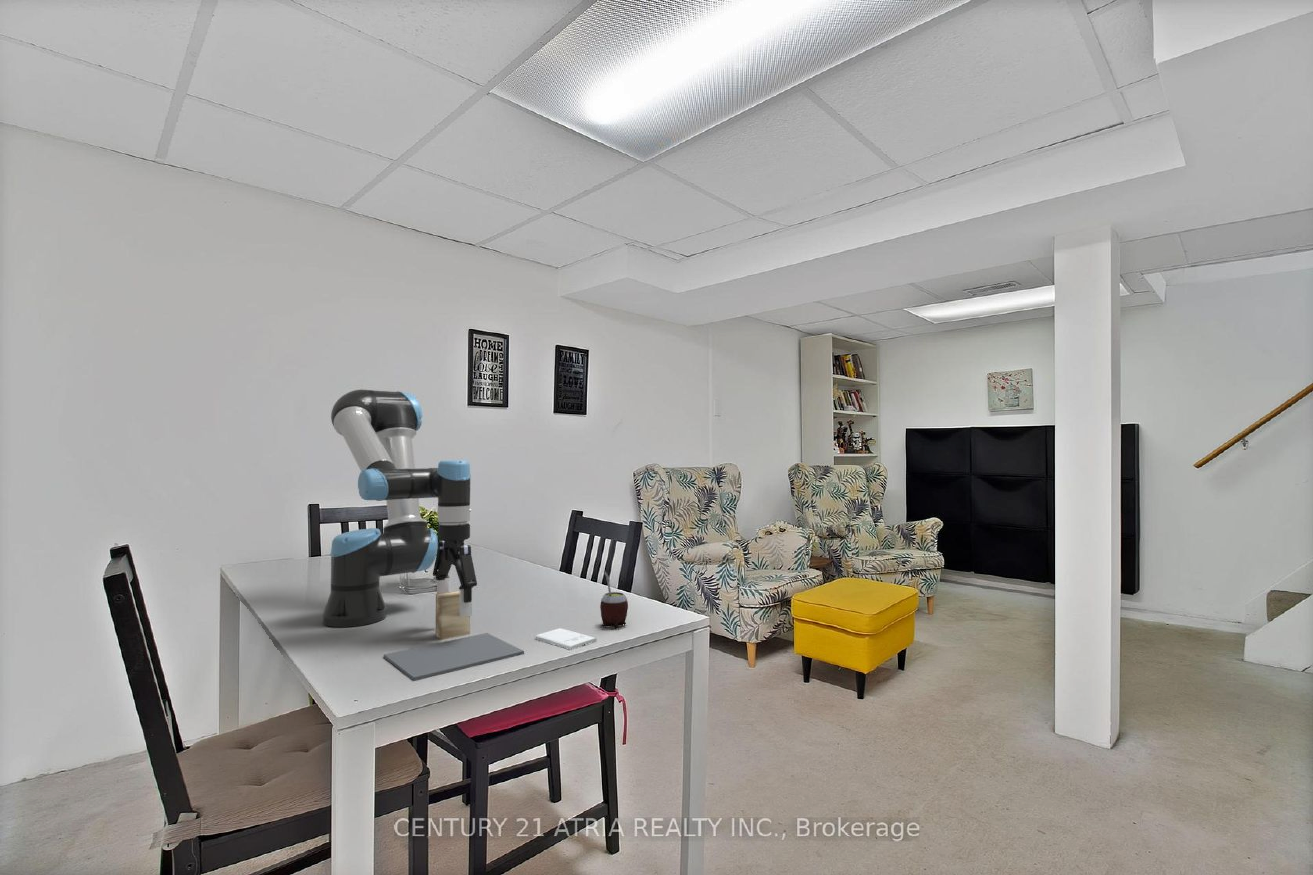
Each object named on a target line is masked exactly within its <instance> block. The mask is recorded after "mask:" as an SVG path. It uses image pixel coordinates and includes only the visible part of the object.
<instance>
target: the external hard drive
mask: <svg viewBox="0 0 1313 875" xmlns="http://www.w3.org/2000/svg"><path fill="white" fill-rule="evenodd" d="M536 639H537V641H539V640H540V642H543V641H544V642H543V643H546V642H547V643H546V644H549V643H550V645H552V644H555V645H554V646H556V645H558V646H557V647H559V646H561V647H560V648H562V647H564V648H563V649H565V648H568V649H567V650H569V649H573V650H575V649H574V648H576V649H578V647H579V648H581V647H580V646H582V645H584V644H588V645H590V644H589V643H591V642H594V641H597V638H596V637H593V636H590V635H586V634H582V633H579V632H575V631H572V630H569V629H566V628H565V629H564V628H563V627H559V628H556V629H552V630H549V631H545V632H542V633H538V634H535V640H536ZM594 643H595V642H594ZM591 644H592V643H591ZM584 646H585V645H584ZM582 647H583V646H582Z"/></svg>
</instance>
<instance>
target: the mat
mask: <svg viewBox="0 0 1313 875" xmlns="http://www.w3.org/2000/svg"><path fill="white" fill-rule="evenodd" d="M524 654H525V650H524V649H521V648H519V647H517V646H515V645H512V644H511V643H509V642H506V641H505V640H502V639H501V638H499V637H496V636H494V635H493V634H490V633H488V632H485V633H480V634H475V635H469V636H466V637H460V638H454V639H451V640H447V641H440V642H436V643H432V644H428V645H422V646H418V647H417V646H416V647H414V648H408V649H404V650H398V651H393V652H389V653H384V654H383V658H384V659H385V660H387V662H389V663H390V664H391V665H393V666H395V668H397V669H398V670H399V671H401V672H402V673H404V675H406V676H407V677H409V678H410V679H411V680H413V681H418V680H423V679H427V678H430V677H436V676H439V675H443V674H447V673H451V672H455V671H460V670H463V669H467V668H471V667H476V666H479V665H483V664H488V663H491V662H492V663H493V662H496V661H499V660H504V659H508V658H512V657H516V656H520V655H524Z"/></svg>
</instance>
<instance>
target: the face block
mask: <svg viewBox="0 0 1313 875" xmlns="http://www.w3.org/2000/svg"><path fill="white" fill-rule="evenodd" d="M434 629H435V630H434V631H435V634H434V636H435V637H437V638H438V637H439V639H440V640H445V639H446V640H448V639H451V638H455V637H456V638H457V637H460V636H466V635H470V634H471V615H470V616H465V617H460V590H455V591H450V592H447V593H441V594H437V593H436V594H435V628H434Z"/></svg>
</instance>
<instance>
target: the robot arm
mask: <svg viewBox="0 0 1313 875" xmlns="http://www.w3.org/2000/svg"><path fill="white" fill-rule="evenodd" d="M422 418H423V411H422V406H421V403H420V402H419V400H418V398H417V397H416V396H415V395H414V394H412V393H409V392H402V391H399V390H398V391H390V390H389V391H387V390H375V389H374V390H373V389H354V390H352V391H349V392H347V393H344V394H343V395H341V397H339V398H338V399H337V401H336V402H335V403H334V404H333V407H332V409H331V413H330V420H331V424H332V426H333V428H334V430H335V431H336V433H338V434H339V435H340V436H341V437H343V439H344V441H345V443H346V445H347V447H348V449H349V451H350V452H351V454H352V457H353V459H354V461H355V463H356V464H357V466H358V468H359V470H360V473H359V475H358V479H357V490H358V493H359V496H360V498H361V499H362V500H364V501H377V502H380V501H386V509H387V510H386V512H387V523H386V524H385V526H384V527H383V528H382V530H383V533H382V531H381V530H380V529H379V528H374V527H371V528H363V529H355V530H351V531H347V532H344V533H343V532H342V533H341V534H337V535H336V536H334V538H333V539H332V541H331V548H330V554H329V555H330V593H329V597H328V599H327V602H326V604H325V607H324V609H323V614H322V624H323V625H324V626H328V627H333V628H334V627H335V628H346V627H347V628H348V627H350V628H351V627H357V626H365V625H369V624H373V623H377V622H380V621H382V620H384V619H385V618H386V617H387V606H386V603H385V600H384V597H383V595H382V592H381V591H382V590H381V589H380V580H381V579H380V578H381V577H386V576H387V577H389V576H395V575H401V574H409V573H410V574H411V573H412V574H415V573H417V572H422V571H426V570H429V569H430V568H431V567H432V566H433V564H434V566H433V571H432V576H433V577H435V580H436V594H441V593H447V592H449V581H450V580H449V579H450V576H449V573H450V570H451V568H452V566H454V568H455V570H456V574H457V576H458V580H459V583H460V586H459V587H458V591H460V617H465V616H470V617H471V616H473V588H474V587H477V586H478V582H477V577H476V576H477V575H476V571H475V567H474V563H473V556H472V547H471V545H470V544H466V545H465V540H469V539H470V538H471V524H469V522H470V521H471V512H472V509H471V477H472V475H471V464H470V462H469V461H468V460H463V459H462V460H440V461H439V462H438V466H437V467H427V468H426V467H425V468H416V466H415V465H416V463H415V456H414V447H413V439H414V438H415V436H416V435H417V431H419V430H420V428H421V426H422V423H423V421H422ZM433 498H436V499H437V522H438V523H440V524H438V526H437V533H436V531H435V530H434V529H433V528H428V521H427V520H425V519H424V518H422V516H421V509H420V508H421V507H420V499H433Z"/></svg>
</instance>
